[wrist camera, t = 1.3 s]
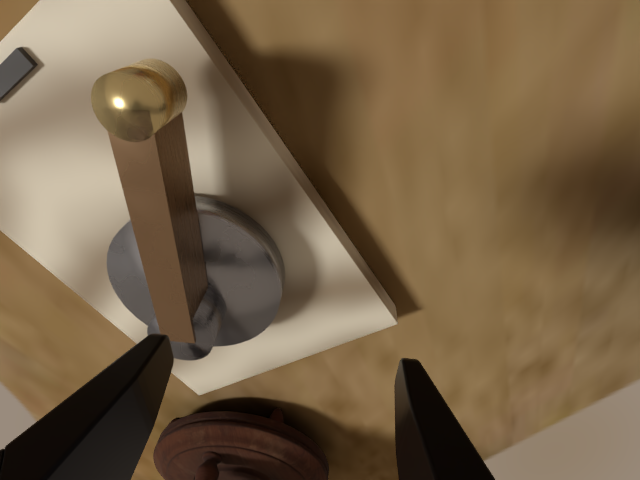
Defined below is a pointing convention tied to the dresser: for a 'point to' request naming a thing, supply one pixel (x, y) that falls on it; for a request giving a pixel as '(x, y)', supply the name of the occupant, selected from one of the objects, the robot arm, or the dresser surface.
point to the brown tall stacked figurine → (237, 449)
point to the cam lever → (179, 225)
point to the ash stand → (206, 169)
